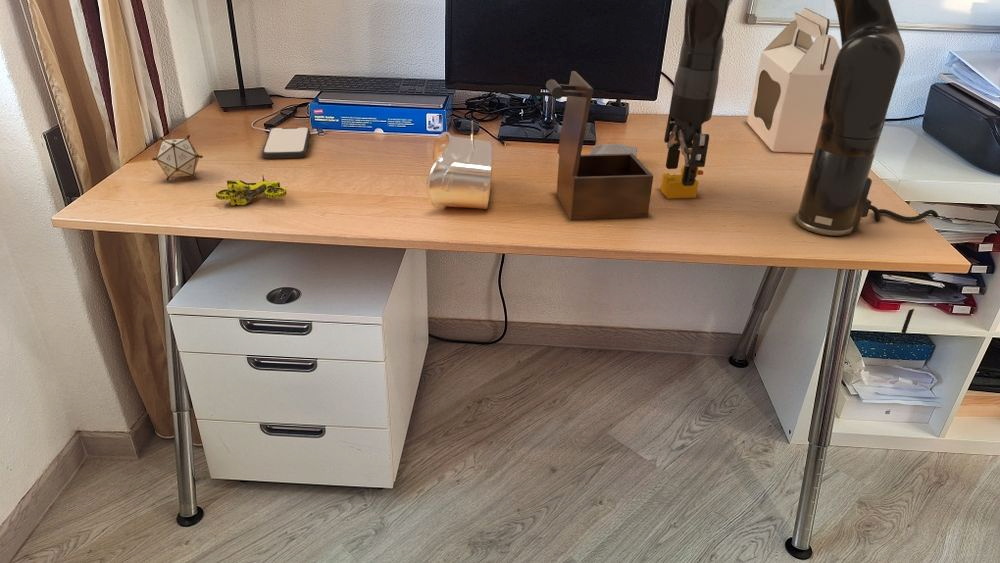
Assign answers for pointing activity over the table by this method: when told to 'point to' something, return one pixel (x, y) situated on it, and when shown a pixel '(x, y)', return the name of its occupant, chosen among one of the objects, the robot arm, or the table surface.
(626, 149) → the stone block
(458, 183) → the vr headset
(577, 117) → the chest lid
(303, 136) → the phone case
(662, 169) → the table surface
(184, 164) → the game die
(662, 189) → the toy duck
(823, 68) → the gable box
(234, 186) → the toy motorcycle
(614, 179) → the toy chest
